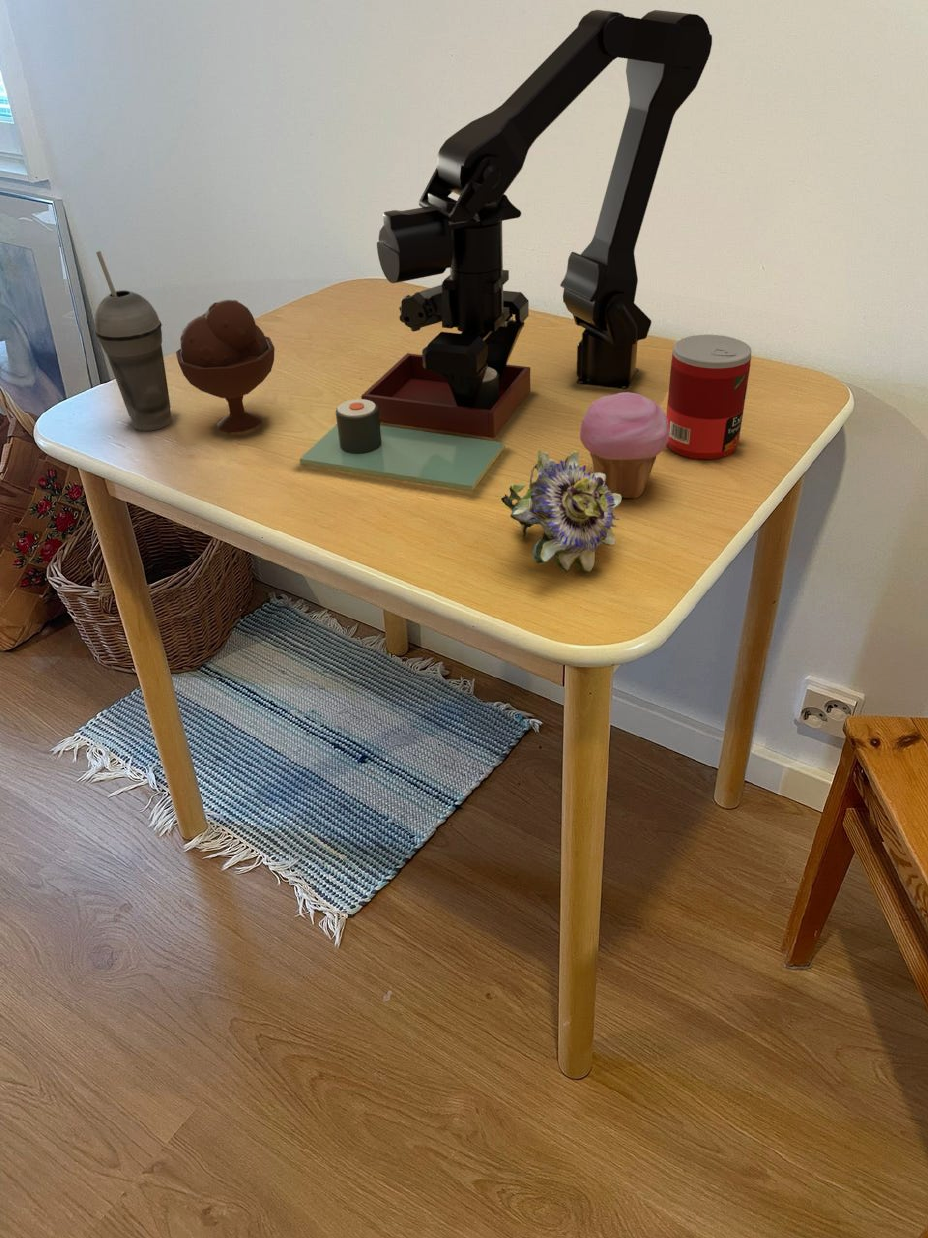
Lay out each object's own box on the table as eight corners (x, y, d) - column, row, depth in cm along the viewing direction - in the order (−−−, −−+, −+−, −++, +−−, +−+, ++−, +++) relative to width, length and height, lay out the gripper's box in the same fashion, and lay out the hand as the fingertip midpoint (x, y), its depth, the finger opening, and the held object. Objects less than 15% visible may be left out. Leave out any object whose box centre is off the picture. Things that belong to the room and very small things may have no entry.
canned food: (738, 463, 102) (753, 363, 95) (662, 458, 103) (671, 360, 96) (737, 430, 107) (751, 335, 101) (664, 426, 109) (673, 332, 102)
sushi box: (530, 394, 117) (530, 366, 115) (494, 442, 107) (493, 412, 105) (409, 380, 122) (407, 352, 120) (364, 424, 112) (361, 395, 110)
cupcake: (658, 514, 94) (667, 420, 88) (570, 505, 96) (574, 412, 90) (668, 471, 101) (677, 381, 95) (586, 464, 103) (590, 375, 97)
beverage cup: (174, 435, 112) (132, 260, 100) (113, 436, 112) (64, 262, 100) (189, 408, 118) (151, 240, 106) (131, 410, 118) (86, 242, 106)
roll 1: (388, 437, 107) (384, 399, 104) (370, 456, 103) (366, 417, 101) (351, 432, 108) (346, 394, 105) (332, 450, 105) (327, 411, 102)
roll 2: (504, 403, 114) (504, 366, 111) (491, 419, 111) (491, 381, 108) (468, 398, 116) (467, 361, 113) (454, 414, 112) (453, 377, 109)
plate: (504, 452, 105) (504, 442, 105) (472, 496, 98) (472, 485, 97) (342, 429, 112) (341, 419, 111) (300, 468, 104) (299, 458, 104)
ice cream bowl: (276, 400, 119) (256, 278, 110) (293, 438, 110) (272, 309, 101) (190, 415, 116) (161, 291, 107) (199, 455, 108) (169, 324, 99)
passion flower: (581, 614, 90) (560, 570, 79) (491, 560, 95) (458, 510, 84) (648, 518, 92) (635, 461, 81) (555, 469, 96) (531, 408, 85)
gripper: (439, 236, 113) (446, 363, 122) (371, 287, 99) (384, 425, 108) (530, 242, 109) (529, 372, 119) (472, 296, 95) (477, 438, 105)
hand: (480, 400), depth 113 cm, fingers open, 9 cm apart
